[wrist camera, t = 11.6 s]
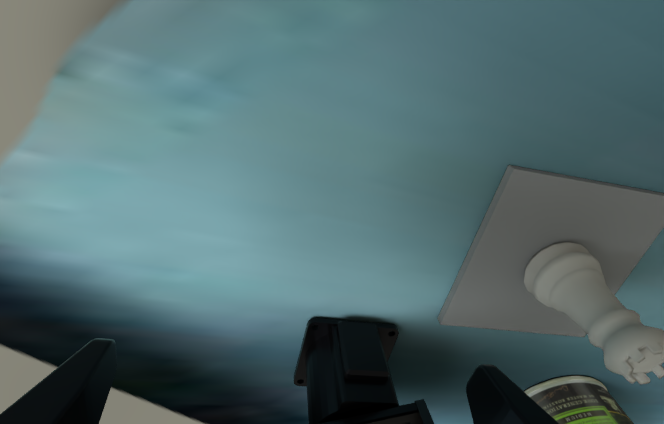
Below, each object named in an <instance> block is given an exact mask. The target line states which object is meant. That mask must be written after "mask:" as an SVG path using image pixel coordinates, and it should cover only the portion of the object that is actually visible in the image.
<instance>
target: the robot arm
mask: <svg viewBox="0 0 664 424" xmlns="http://www.w3.org/2000/svg"><path fill="white" fill-rule="evenodd" d="M313 325H317V326H313ZM391 331H392V332H391ZM398 334H399V332H398V329H397V326H395V325H393V324H381V323H370V322H358V321H346V320H334V319H323V318H312V319H310V320H309V321H308V323H307V327H306V330H305V334H304V338H303V342H302V346H301V350H300V354H299V358H298V362H297V366H296V370H295V374H294V384H295V385H297V386H307V398H308V415H309V424H434V422H433V420H432V418H431V415H430V413H429V410H428V408H427V406H426V403H425V401H424V399H421V400H417V401H415V403H411V404H406V405H401V406H399V403H398V400H397V396H396V393H395V389H394V385H393V382H392V378H391V375H390V371H389V367H388V364H387V361H388V359H389V356H390V354H391V351H392V349H393V347H394V344H395V342H396V339H397V337H398ZM116 368H117V359H116V344H115V341H114V340H112V339H100V338H96V339H93V340H91V341H90V342H89V343H88V344H86V345H85V346H84V347H83V348H81V349H80V350H79V351H78V352H77V353H75V354H74V355H73V356H72V357H70V358H69V359H68V360H67V361H65V362H64V363H63V364H62V365H60V366H59V367H58V368H57V369H56V370H54V371H53V372H52V373H51V374H50V375H48V376H47V377H46V378H45V379H43V380H42V381H41V382H39V383H38V384H37V385H36V386H35V387H33V388H32V389H31V390H30V391H28V392H27V393H26V394H25V395H23V396H22V397H21V398H20V399H18V400H17V401H16V402H15V403H14V404H13V405H11V406H10V407H9V408H7V409H6V410H5V411H4V412H2V413H1V414H0V424H99V421H100V418H101V415H102V412H103V409H104V406H105V403H106V400H107V397H108V394H109V391H110V388H111V385H112V382H113V379H114V376H115V373H116ZM466 392H467V397H468V401H469V405H470V410H471V414H472V418H473V422H474V424H559V423H558V422H557V421H556V420H555V419H554V418H553V417H552V416H550V415H549V414H548V413H547V412H546V411H545V410H544V409H543V408H541V407H540V406H539V405H538V404H537V403H536V402H535V401H534V400H533V399H531V398H530V397H529V396H528V395H527V394H526V393H525V392H524V391H523V390H521V389H520V388H519V387H518V386H517V385H516V384H515V383H514V382H512V381H511V380H510V379H509V378H508V377H507V376H506V375H505V374H504V373H502V372H501V371H500V370H499V369H498V368H497V367H495V366H493V365H485V364H480V365H478V366H477V367H476V369H475V371H474V372H473V374H472V376H471V378H470V379H469V381H468V383H467V387H466Z"/></svg>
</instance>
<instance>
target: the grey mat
mask: <svg viewBox="0 0 664 424" xmlns="http://www.w3.org/2000/svg"><path fill="white" fill-rule="evenodd" d="M663 227H664V193H660V192H655V191H649V190H644V189H638V188H633V187H627V186H622V185H616V184H611V183H605V182H600V181H595V180H589V179H584V178H578V177H573V176H567V175H562V174H556V173H551V172H545V171H540V170H534V169H529V168H523V167H518V166H512V165H508V167H507V169H506V171H505V174H504V176H503V178H502V180H501V182H500V184H499V186H498V189H497V191H496V193H495V195H494V197H493V199H492V202H491V204H490V206H489V208H488V210H487V212H486V215H485V217H484V219H483V221H482V223H481V225H480V228H479V230H478V232H477V234H476V236H475V238H474V240H473V243H472V245H471V247H470V249H469V251H468V253H467V256H466V258H465V260H464V262H463V264H462V266H461V269H460V271H459V273H458V275H457V277H456V279H455V282H454V284H453V286H452V288H451V290H450V292H449V294H448V297H447V299H446V301H445V303H444V305H443V307H442V310H441V312H440V314H439V316H438V318H437V319H438V321H439V323H440V325H451V326H462V327H474V328H485V329H497V330H508V331H519V332H531V333H542V334H554V335H565V336H577V337H585V335H586V334H587V333H586V332H585V331H584V330H583V329H582V327H581V326H579V325H578V324H577V323H576V322H575V321H574V320H572V319H571V318H570V317H569V316H568V315H567V314H565V313H564V312H559V311H557V310H555V309H554V308H552V307H547V306H546V305H544V304H543V303H541V302H540V301H538V300H537V299H535V296H534V295H533V294H532V293H530V292H529V291H527V289H526V286H525V284H524V277H525V270H526V266H527V264H528V263H529V261H530V259H531V258H532V257H533V256H534V255H535V254H536V253H537V252H539V251H540V250H541V249H543V248H545V247H547V246H549V245H551V244H557V243H563V242H570V243H575V244H581V245H582V246H583V247H585V248H586V249H587V250H588V251H589V253H590V254H591V255H592V256H593V257H595V258H596V259H597V260H598V262H599V264H600V266H601V270H602V274H603V275H604V279H605V284H606V285H607V287H608V288H609V289H610V291H611V292H612V293H613V294H614V295H615V294H616V292H617V291H618V290H619V288H620V287H621V285H622V284H623V283H624V281H625V280H626V279H627V277H628V276H629V274H630V273H631V272H632V270H633V269H634V267H635V266H636V265H637V263H638V262H639V261H640V259H641V258H642V256H643V255H644V254H645V252H646V251H647V250H648V248H649V247H650V245H651V244H652V243H653V241H654V240H655V238H656V237H657V236H658V234H659V233H660V232H661V230H662V229H663Z"/></svg>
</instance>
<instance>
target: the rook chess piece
mask: <svg viewBox="0 0 664 424" xmlns="http://www.w3.org/2000/svg"><path fill="white" fill-rule="evenodd" d="M524 284H525V286H526V289H527V291H529V292H530V293H532V294H533V295H534V296H535V299H537V300H538V301H540V302H541V303H543V304H544V305H546V306H547V307H552V308H554V309H555V310H557V311H559V312H564V313H565V314H567V315H568V316H569V317H570V318H571V319H572V320H574V321H575V322H576V323H577V324H578V325H579V326H581V327H582V329H583V330H584V331H585V332H586V333H587V334H588V338H589V341H590V343H591V344H592V345H594V346H595V347H600V348H601V349H602V350H603V351H604V363H605V366H606V368H607V369H608V370H610V371H611V372H613V373H617V374H620V375H623V376H624V377H625V378H626V380H627V381H629V382H630V383H632V384H633V383H634V382H635V381H637V382H638V383H639V384H640V385H641V384H647V383H650V379H649V378H648V376H647V375H646V373H649V372H651V371H653V372H654V373H655V374H656V376H657V377H658V378H659V379H660V378H662V377H663V376H664V368H663V367H662V366H661V365H662V363H663V362H664V331H663V330H662V329H658V328H653V327H648V326H644V325H643V324H642V323H641V321H640V316H639V314H638V313H636V312H635V311H633V310H628V309H626V308H625V307H624V306H623V305H622V304H621V303H620V302H619V300H618V299H617V298H616V297H615V295H614V294H613V293H612V292H611V291H610V289H609V288H608V287H607V285H606V284H605V279H604V275H603V274H602V270H601V266H600V264H599V262H598V260H597V259H596V258H595V257H593V256H592V255H591V254H590V253H589V251H588V250H587V249H586V248H585V247H583V246H582V245H581V244H575V243H570V242H563V243H557V244H551V245H549V246H547V247H545V248H543V249H541V250H540V251H539V252H537V253H536V254H535V255H534V256H533V257H532V258H531V259H530V261H529V263H528V264H527V266H526V270H525V277H524Z"/></svg>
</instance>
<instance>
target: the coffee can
mask: <svg viewBox="0 0 664 424" xmlns="http://www.w3.org/2000/svg"><path fill="white" fill-rule="evenodd" d="M524 392H525V393H526V394H527V395H528V396H529V397H530V398H531V399H533V400H534V401H535V402H536V403H537V404H538V405H539V406H540V407H541V408H543V409H544V410H545V411H546V412H547V413H548V414H549V415H550V416H552V417H553V418H554V419H555V420H556V421H557V422H558V423H559V424H634V423H633V422H632V421H631V420H630V418H629V417H628V416H627V415H626V414H625V412H624V411H623V410H622V408H621V407H620V406H619V405H618V403H617V402H616V401H615V400H614V398H613V397H612V396H611V395H610V394H609V392H608V390H607V389H606V387H605V386H604V385H603V384H602V383H601V382H600V381H598V380H596V379H594V378H591V377H586V376H564V377H558V378H554V379H550V380H548V381H545V382H542V383H539V384H537V385H535V386H532V387H530V388H529V389H527V390H525V391H524Z"/></svg>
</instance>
